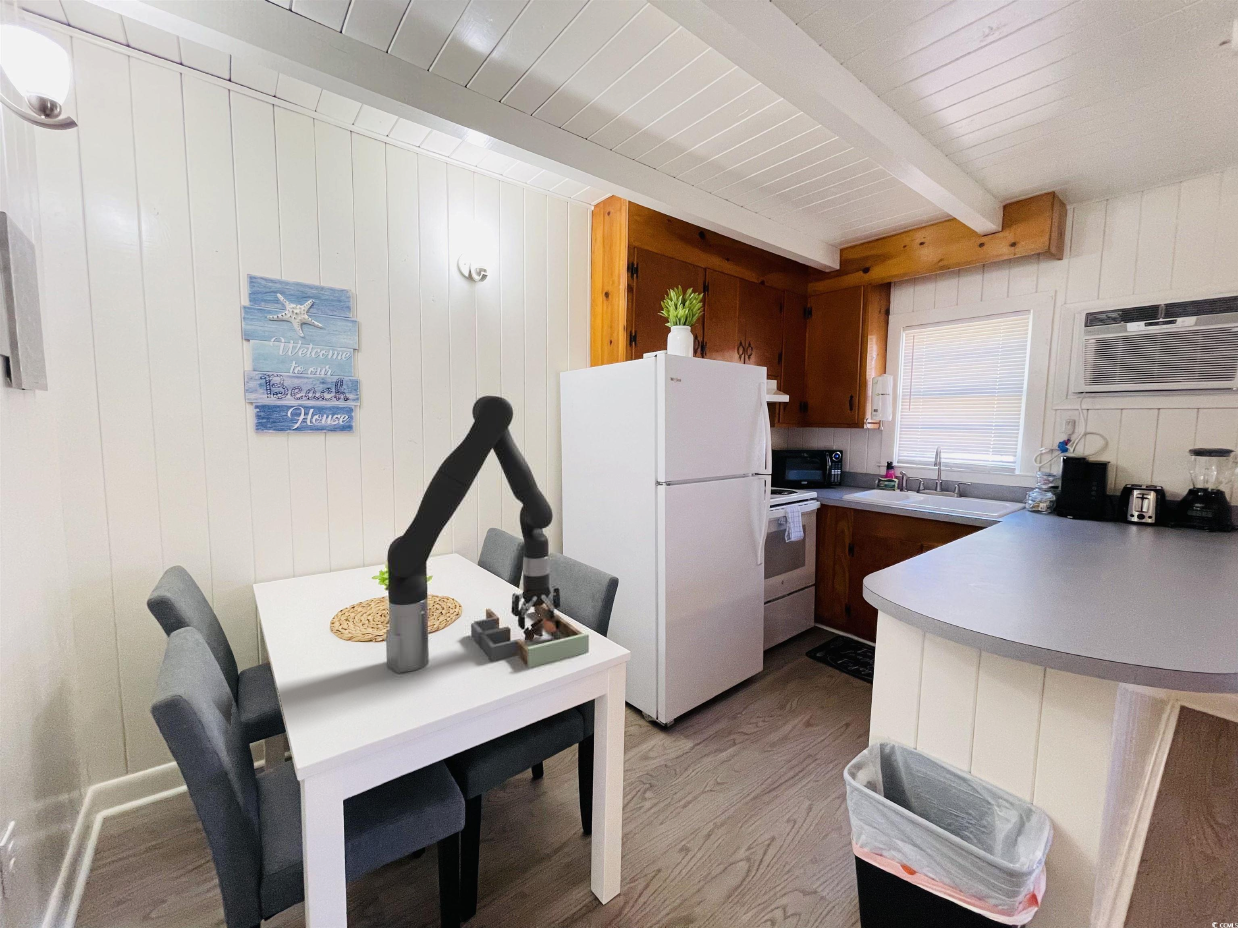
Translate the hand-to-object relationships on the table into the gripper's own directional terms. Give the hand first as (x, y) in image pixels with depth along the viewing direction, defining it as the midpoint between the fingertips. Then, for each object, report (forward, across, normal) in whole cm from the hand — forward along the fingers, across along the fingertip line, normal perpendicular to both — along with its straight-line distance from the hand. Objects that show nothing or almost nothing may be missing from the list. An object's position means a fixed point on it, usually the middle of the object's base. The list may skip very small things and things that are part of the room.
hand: (536, 625), depth 147 cm
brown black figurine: (+4, +1, -4) cm, 6 cm away
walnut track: (+4, 0, +2) cm, 4 cm away
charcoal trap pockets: (+4, -12, +2) cm, 13 cm away
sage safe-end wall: (+4, 0, -15) cm, 16 cm away
